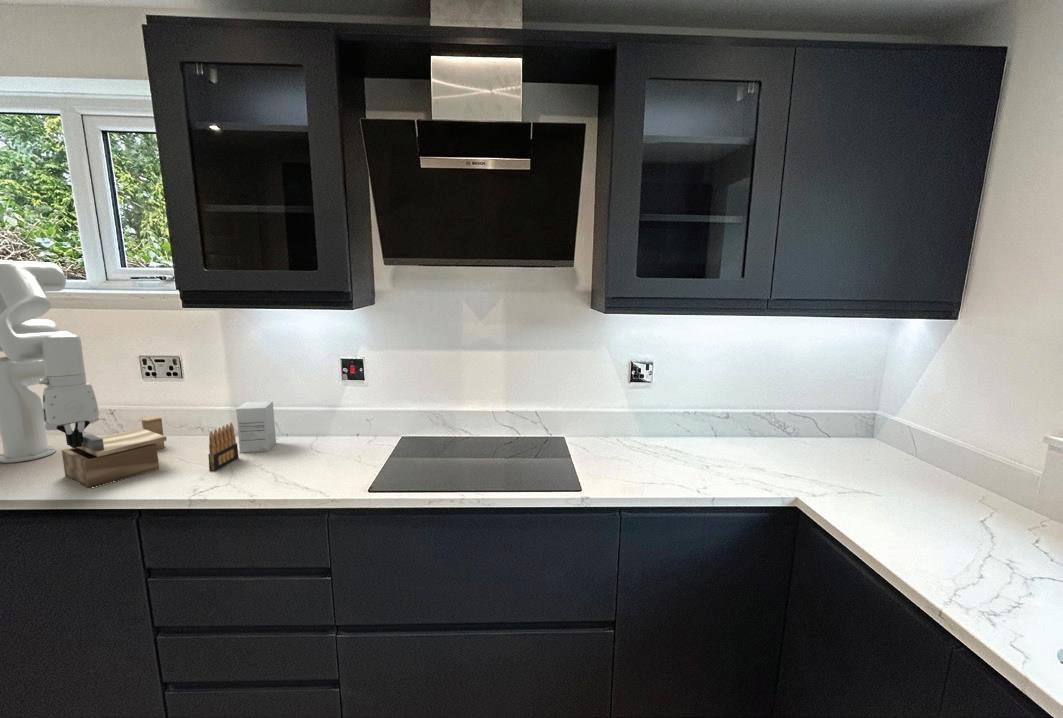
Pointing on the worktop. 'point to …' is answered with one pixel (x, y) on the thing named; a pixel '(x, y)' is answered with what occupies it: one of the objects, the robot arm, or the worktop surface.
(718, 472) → the worktop surface
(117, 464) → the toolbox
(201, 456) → the worktop surface
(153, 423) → the brown wooden block
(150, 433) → the lid
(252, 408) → the supplement box
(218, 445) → the ammunition clip
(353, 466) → the worktop surface
